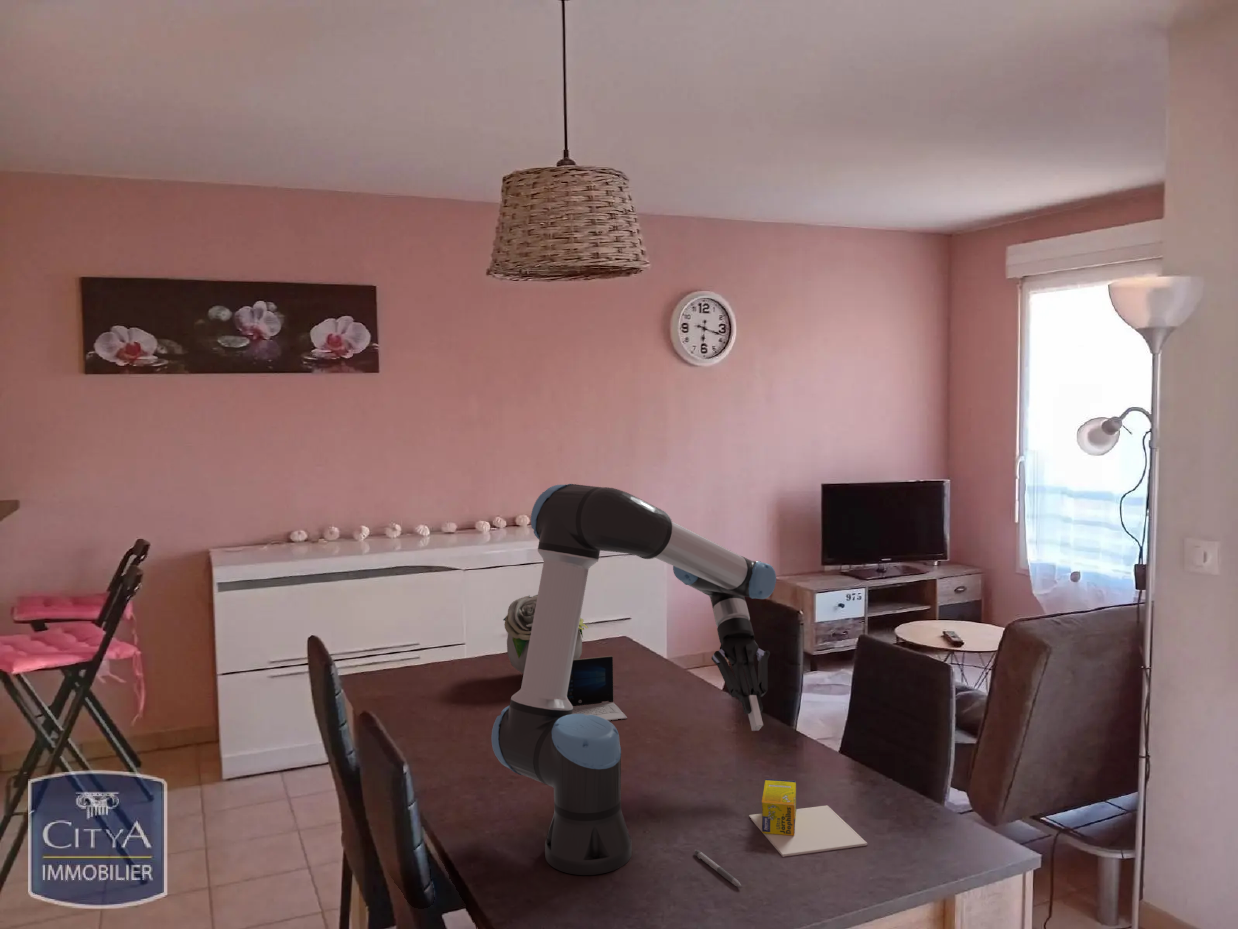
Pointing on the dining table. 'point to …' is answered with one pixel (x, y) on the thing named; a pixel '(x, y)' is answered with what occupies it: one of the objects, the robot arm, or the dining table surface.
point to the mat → (813, 832)
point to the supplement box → (779, 807)
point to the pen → (718, 868)
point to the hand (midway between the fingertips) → (757, 727)
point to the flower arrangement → (527, 631)
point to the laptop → (593, 688)
